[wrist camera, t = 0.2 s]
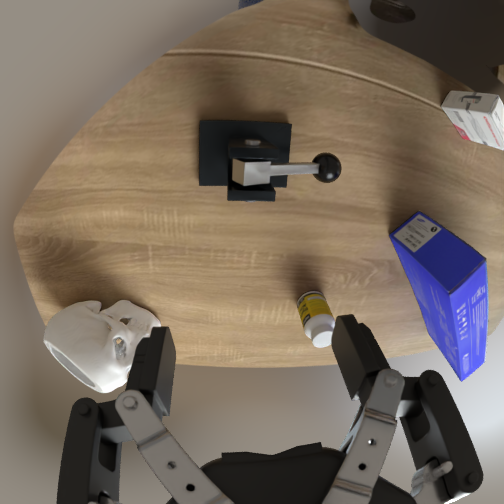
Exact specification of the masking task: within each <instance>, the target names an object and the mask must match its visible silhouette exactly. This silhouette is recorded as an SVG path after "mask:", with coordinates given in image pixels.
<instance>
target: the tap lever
mask: <svg viewBox="0 0 504 504" xmlns="http://www.w3.org/2000/svg"><path fill="white" fill-rule="evenodd" d="M341 169H342V167H341V163H340V161H339V159H338V158H337V157H336V156H335V155H333V154H331V153H320V154H318V155H317V156H316V157H315V158H314V159H313V161H312V162H301V163H271V161H268V160H265V159H254V158H233V174H232V180H234V181H236V182H237V183H239V184H241V185H243V186H247V185H257V184H268V183H269V182H270V176H275V175H292V174H313V176H314V177H315V178H316V179H317V180H319V181H320V182H323V183H330V182H333V181H335V180H336V179H337V178H338V177H339V176H340V174H341Z"/></svg>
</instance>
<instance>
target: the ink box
mask: <svg viewBox="0 0 504 504" xmlns="http://www.w3.org/2000/svg"><path fill="white" fill-rule="evenodd" d="M441 108H442V109H443V110H444V112H445V113H446V114H447V116H448V117H449V119H450V120H451V122H452V123H453V124H454V126H455V127H456V129H457V130H458V132H459V133H460V135H461V137H462V138H463V139H467V140H471V141H474V142H478V143H481V144H485V145H488V146H491V147H495V148H498V149H501V150H504V105H503V103H502V101H501V99H500V97H499V95H494V94H486V93H476V92H465V91H450V92H449V94H448V95H447V97H446V98H445V100H444V102H443V104H442V105H441Z"/></svg>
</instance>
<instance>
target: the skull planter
mask: <svg viewBox="0 0 504 504" xmlns="http://www.w3.org/2000/svg"><path fill="white" fill-rule="evenodd" d="M100 309H101V303H100V302H99V301H84V302H77V303H75V304H72V305H70V306H68V307H66V308H64V309H62V310H61V311H59V312H58V313H56V314H55V315H54V316H53V317H52V318H51V319H50V321H49V322H48V324H47V326H46V329H45V333H44V343H45V344H46V346H47V348H48V349H49V350H50V352H51V354H52V355H53V356H54V357H55V358H56V359H57V361H58V362H59V363H60V364H62V366H63V367H64V368H65V369H67V370H68V371H69V372H70V373H71V374H72V375H73V376H75V377H76V378H77V379H79V380H80V381H81V382H83V383H84V384H86V385H87V386H89V387H90V388H92V389H94V390H96V391H98V392H101V393H107V392H111V391H113V390H114V389H116V388H117V387H120V386H122V385H124V383H125V382H126V381H127V373H128V372H129V370H130V369H131V366H132V363H133V358H134V356H135V350H136V347H137V344H138V343H139V342H140V341H141V339H142V338H143V337H150V334H151V330H152V327H161V324H160V321H159V320H158V319H157V318H156V317H155V316H154V315H153V314H152V313H151V312H149V311H148V310H146V309H143V308H141V307H138V306H136V305H134V304H133V303H131V302H130V301H128V300H120V301H118V302H116V303H115V304H114V305H113V306H111V307H109V308H107V309H104V310H102V311H101V312H100V311H99V310H100ZM107 315H108V316H107ZM109 316H111V317H112V318H113V319H112V318H111V317H109ZM122 318H127V319H128V320H129V322H128V324H127V325H125V324H124V323H122V322H120V319H122ZM108 324H109V325H110V326H111V327H112V330H111V329H109V328H108ZM118 338H119V339H121V340H122V339H123V340H122V341H121V342H120V343H119V344H116V343H117V342H116V340H117V339H118ZM119 339H118V340H119ZM122 353H123V354H122Z"/></svg>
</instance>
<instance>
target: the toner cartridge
mask: <svg viewBox="0 0 504 504" xmlns="http://www.w3.org/2000/svg"><path fill="white" fill-rule="evenodd" d="M389 237H390V239H391V241H392V243H393V245H394V247H395V250H396V252H397V254H398V256H399V259H400V261H401V263H402V266H403V268H404V270H405V272H406V275H407V277H408V279H409V281H410V284H411V286H412V289H413V291H414V294H415V296H416V299H417V301H418V304H419V306H420V309H421V312H422V315H423V318H424V321H425V324H426V327H427V330H428V333H429V335H430V337H431V338H432V339H433V341H434V342H435V343H436V345H437V346H438V348H439V349H440V350H441V352H442V353H443V355H444V356H445V358H446V359H447V361H448V362H449V364H450V365H451V367H452V368H453V370H454V371H455V373H456V375H457V376H458V378H459V379H460V381H463V380H464V379H465V378H467V377H468V376H469V375H470V374H472V373H473V372H474V371H475V370H476V369H477V368H479V367H480V366H481V365H482V364H483V363H484V362H485V357H486V347H487V333H488V278H487V265H486V258H485V257H484V256H482V255H481V254H480V253H479V252H478V251H476V250H475V249H474V248H473V247H471V246H470V245H469V244H467V243H466V242H465V241H463V240H462V239H460V238H459V237H458V236H456V235H455V234H454V233H452V232H451V231H449V230H448V229H446V228H445V227H443V226H442V225H440V224H439V223H438V222H436V221H435V220H433V219H432V218H430V217H429V216H427V215H426V214H424V213H422V212H420V211H418V212H417V213H416V214H414V215H413V216H412V217H411V218H410V219H408V220H407V221H406V222H405V223H403V224H402V225H401V226H400V227H399V228H397V229H396V230H395V231H394V232H392V233H391V234H390V235H389Z"/></svg>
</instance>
